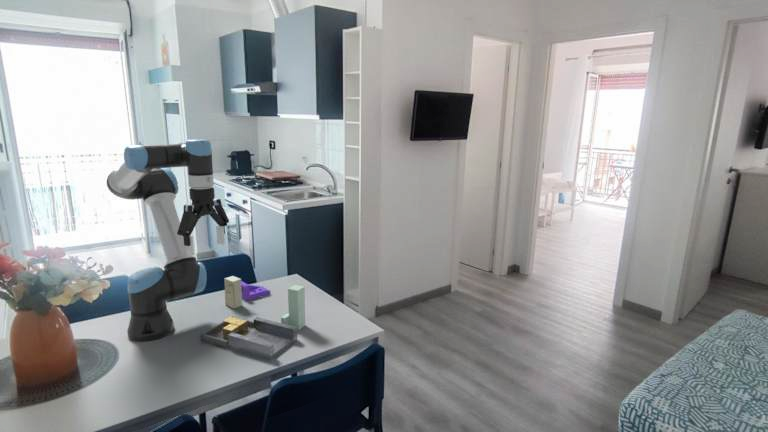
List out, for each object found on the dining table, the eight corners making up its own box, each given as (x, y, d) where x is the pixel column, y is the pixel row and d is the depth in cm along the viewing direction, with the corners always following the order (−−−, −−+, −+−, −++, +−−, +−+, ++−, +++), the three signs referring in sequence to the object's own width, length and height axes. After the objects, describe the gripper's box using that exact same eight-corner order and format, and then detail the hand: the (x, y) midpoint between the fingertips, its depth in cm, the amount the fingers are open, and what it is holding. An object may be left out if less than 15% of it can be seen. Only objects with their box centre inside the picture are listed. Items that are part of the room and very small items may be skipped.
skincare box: (225, 305, 184) (223, 278, 181) (234, 301, 188) (232, 275, 185) (234, 309, 181) (232, 281, 178) (243, 305, 184) (241, 278, 181)
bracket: (245, 301, 189) (244, 286, 187) (238, 296, 194) (237, 282, 192) (270, 294, 197) (269, 280, 196) (262, 289, 202) (262, 275, 200)
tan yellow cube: (232, 333, 160) (231, 323, 159) (239, 328, 163) (239, 318, 162) (240, 335, 158) (239, 325, 157) (248, 330, 162) (247, 320, 161)
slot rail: (228, 348, 151) (227, 334, 149) (257, 329, 164) (257, 317, 163) (270, 360, 143) (270, 346, 142) (297, 339, 157) (296, 327, 156)
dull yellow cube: (223, 330, 161) (223, 320, 160) (231, 326, 165) (230, 316, 164) (232, 333, 160) (231, 323, 159) (239, 328, 163) (239, 318, 162)
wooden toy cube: (223, 338, 156) (222, 328, 155) (231, 333, 159) (230, 323, 158) (232, 340, 154) (231, 330, 153) (239, 335, 158) (239, 325, 157)
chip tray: (201, 340, 155) (200, 334, 154) (233, 322, 169) (232, 316, 169) (226, 348, 150) (226, 341, 150) (257, 328, 165) (257, 322, 164)
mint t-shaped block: (281, 329, 164) (279, 290, 161) (295, 319, 172) (294, 281, 169) (295, 333, 162) (293, 293, 158) (308, 322, 170) (307, 284, 166)
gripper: (179, 194, 129) (184, 261, 134) (237, 183, 152) (240, 241, 156) (160, 192, 132) (167, 258, 137) (220, 181, 154) (224, 238, 159)
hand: (206, 249), depth 147 cm, fingers open, 13 cm apart
